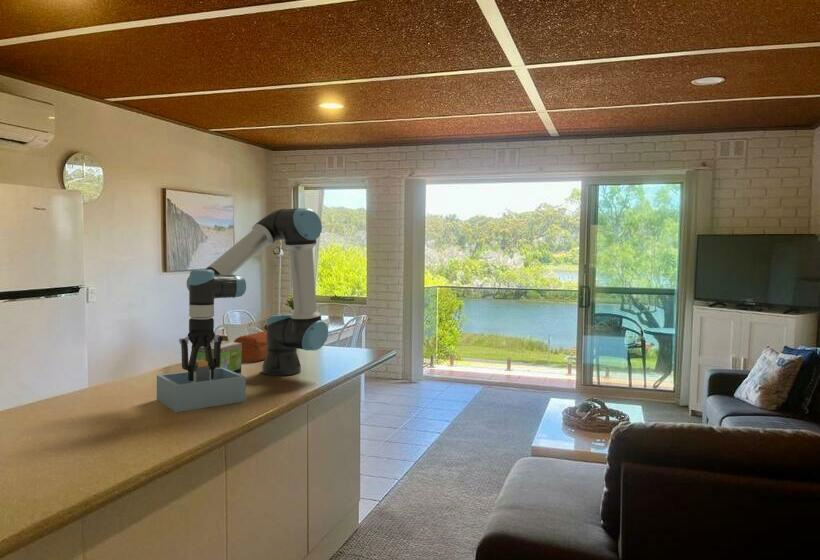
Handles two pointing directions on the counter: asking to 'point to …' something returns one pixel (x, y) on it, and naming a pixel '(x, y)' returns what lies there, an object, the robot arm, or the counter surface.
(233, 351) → the tea box
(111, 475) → the counter surface
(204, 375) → the block
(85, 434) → the counter surface
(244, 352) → the bread
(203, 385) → the walled box
